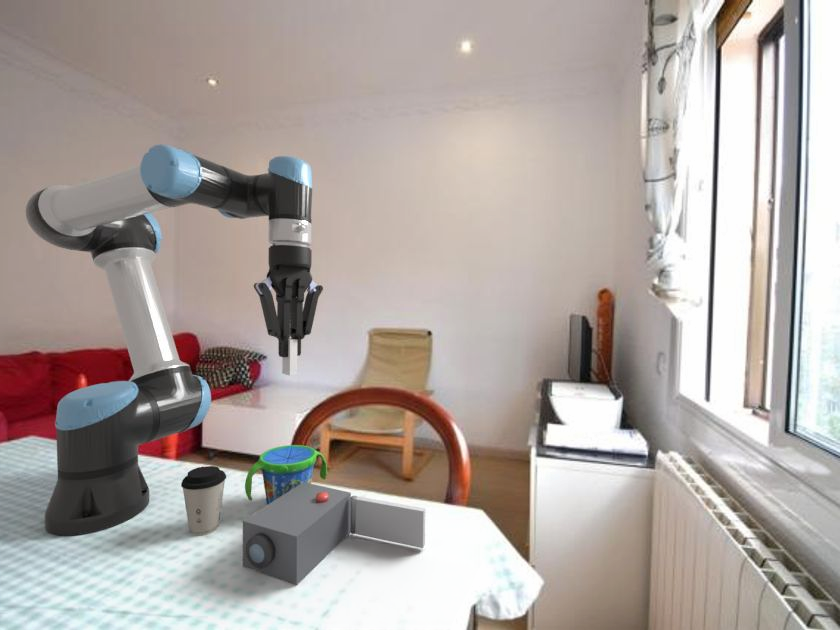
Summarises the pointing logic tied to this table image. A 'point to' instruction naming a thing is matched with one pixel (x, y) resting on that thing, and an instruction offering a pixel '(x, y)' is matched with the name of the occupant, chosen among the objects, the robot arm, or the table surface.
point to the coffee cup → (203, 499)
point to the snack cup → (285, 469)
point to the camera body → (296, 531)
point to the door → (388, 521)
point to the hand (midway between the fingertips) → (289, 373)
